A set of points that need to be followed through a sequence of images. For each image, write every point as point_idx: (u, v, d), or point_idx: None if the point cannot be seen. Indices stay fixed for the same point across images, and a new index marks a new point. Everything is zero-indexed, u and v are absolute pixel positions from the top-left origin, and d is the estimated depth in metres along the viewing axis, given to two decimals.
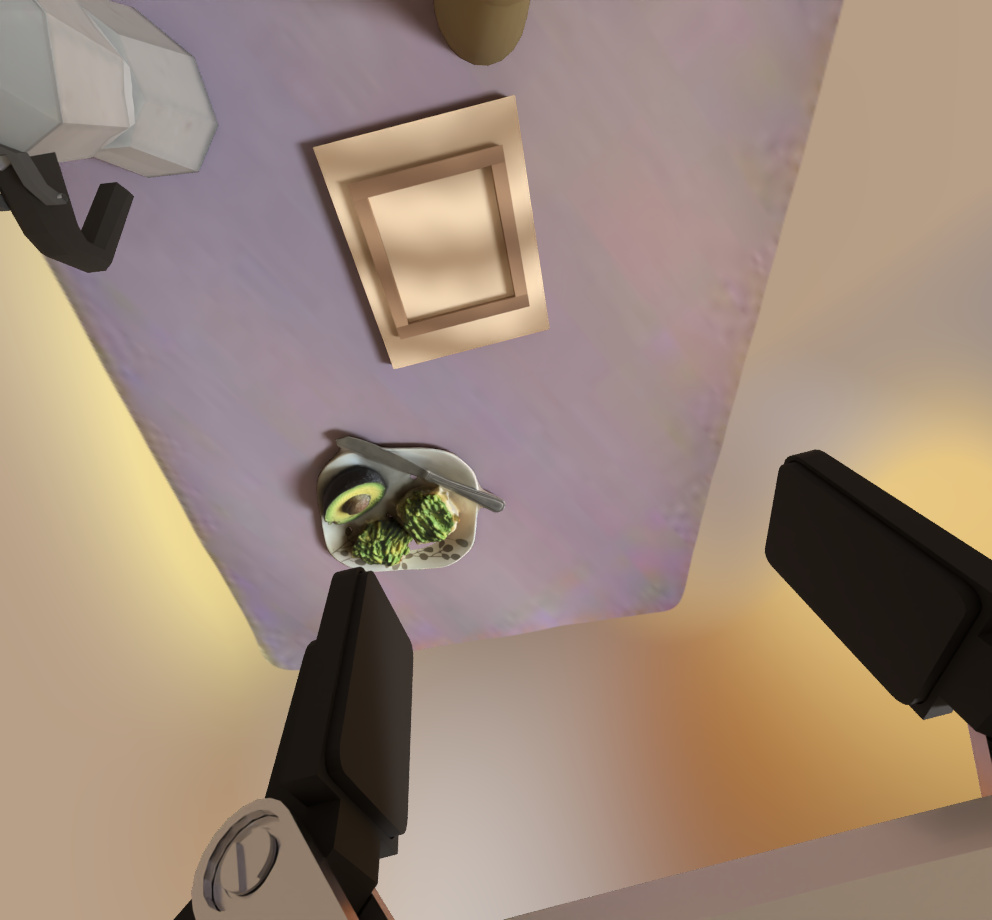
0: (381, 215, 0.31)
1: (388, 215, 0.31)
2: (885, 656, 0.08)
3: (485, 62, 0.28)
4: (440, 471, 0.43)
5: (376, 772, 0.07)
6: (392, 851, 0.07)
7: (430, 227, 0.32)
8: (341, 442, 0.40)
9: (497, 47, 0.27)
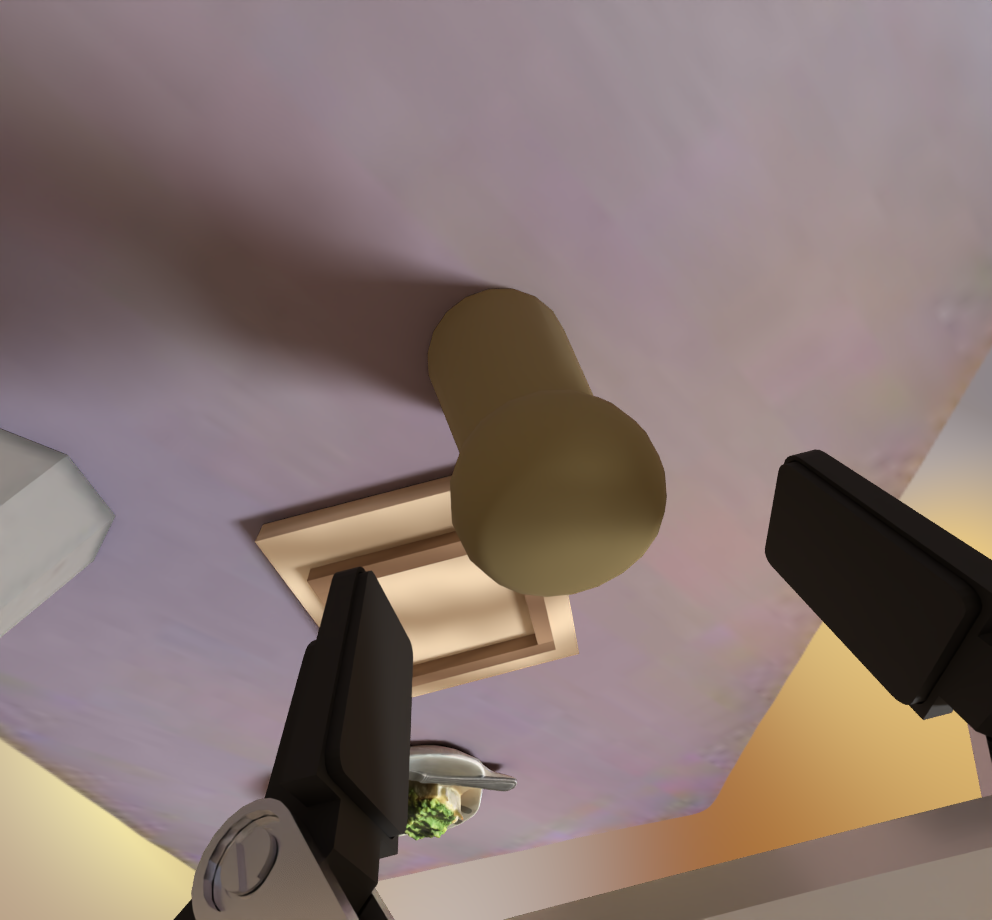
0: None
1: None
2: (886, 657, 0.08)
3: None
4: (438, 770, 0.35)
5: (376, 772, 0.07)
6: (392, 851, 0.07)
7: (424, 592, 0.24)
8: None
9: None
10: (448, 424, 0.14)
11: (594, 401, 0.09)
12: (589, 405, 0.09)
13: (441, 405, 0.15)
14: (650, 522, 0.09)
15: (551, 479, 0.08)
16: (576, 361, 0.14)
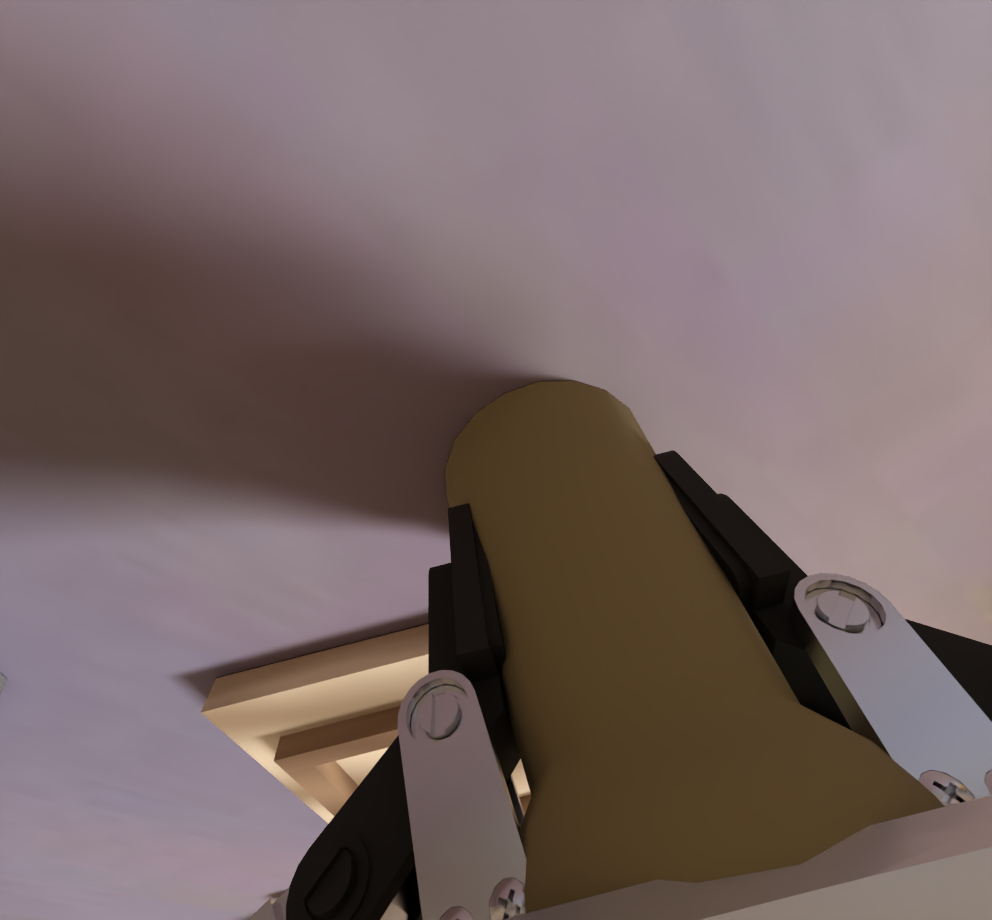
0: None
1: None
2: None
3: None
4: None
5: None
6: None
7: None
8: None
9: None
10: None
11: (888, 815, 0.04)
12: None
13: None
14: None
15: None
16: None
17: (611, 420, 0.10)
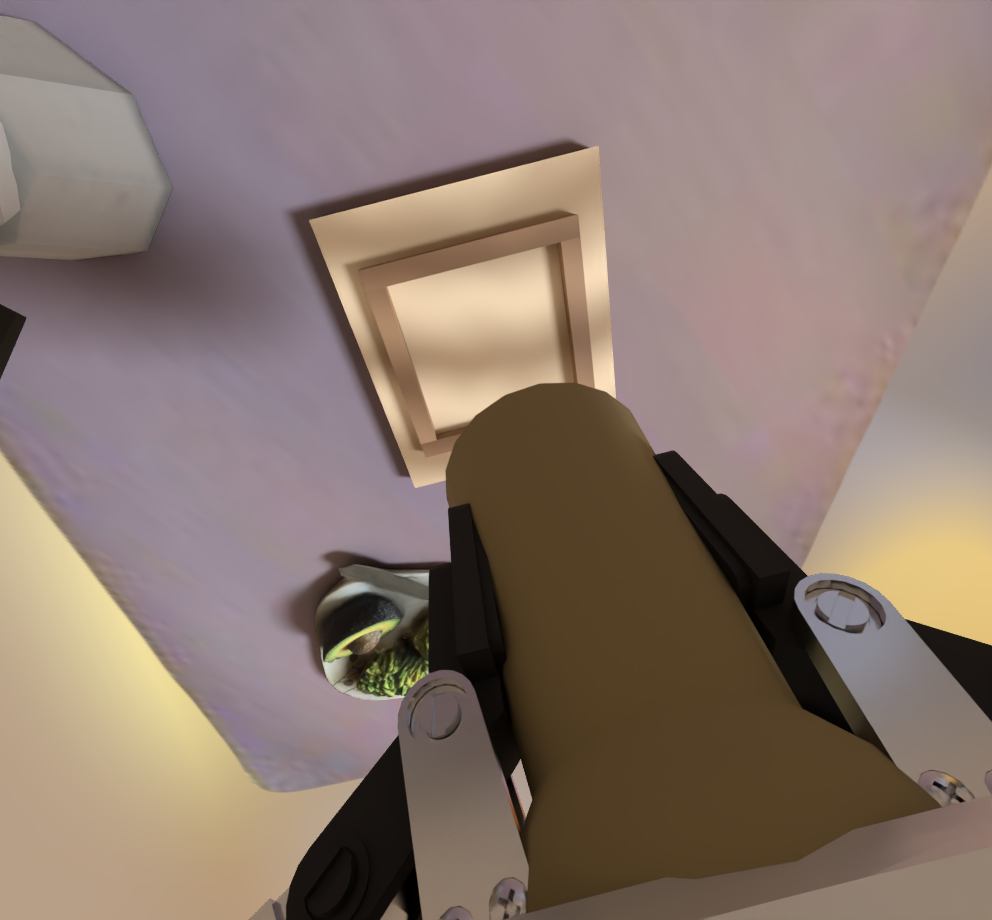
0: (404, 306, 0.23)
1: (413, 306, 0.23)
2: None
3: None
4: None
5: None
6: None
7: (470, 319, 0.23)
8: (346, 571, 0.31)
9: None
10: None
11: None
12: None
13: None
14: None
15: None
16: None
17: (612, 422, 0.10)
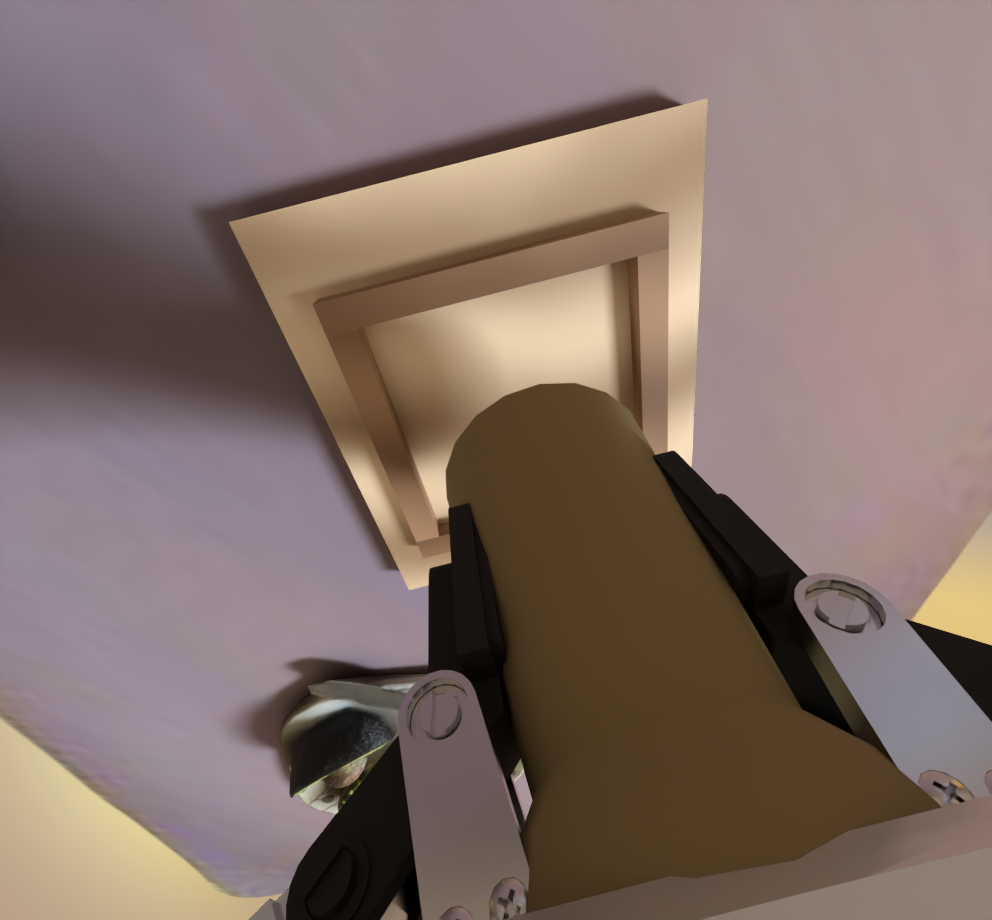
0: (389, 354, 0.15)
1: (403, 354, 0.15)
2: None
3: None
4: None
5: None
6: None
7: (489, 371, 0.16)
8: (318, 689, 0.23)
9: None
10: None
11: None
12: None
13: None
14: None
15: None
16: None
17: (612, 422, 0.10)
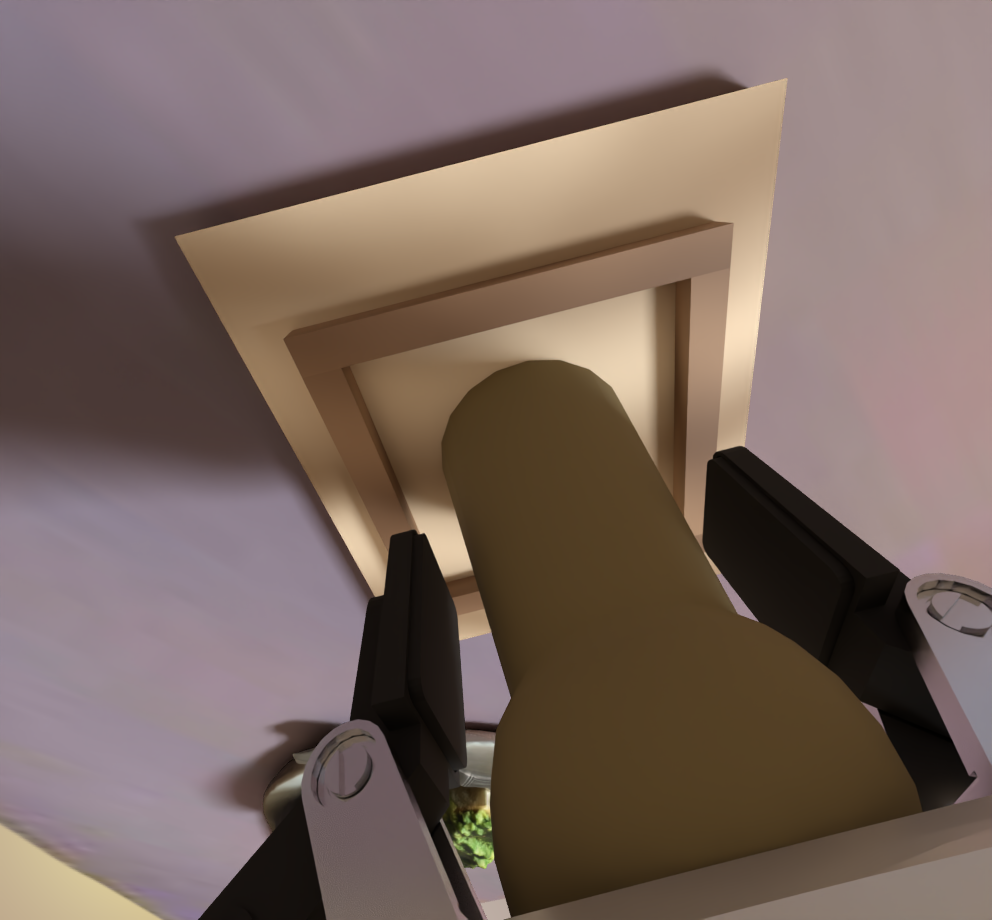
0: (381, 395, 0.12)
1: (399, 395, 0.12)
2: (791, 635, 0.08)
3: None
4: (488, 768, 0.24)
5: (444, 708, 0.08)
6: (456, 783, 0.08)
7: None
8: (304, 757, 0.21)
9: None
10: (474, 573, 0.10)
11: (787, 673, 0.05)
12: (793, 704, 0.04)
13: (462, 532, 0.11)
14: None
15: None
16: None
17: (593, 394, 0.11)
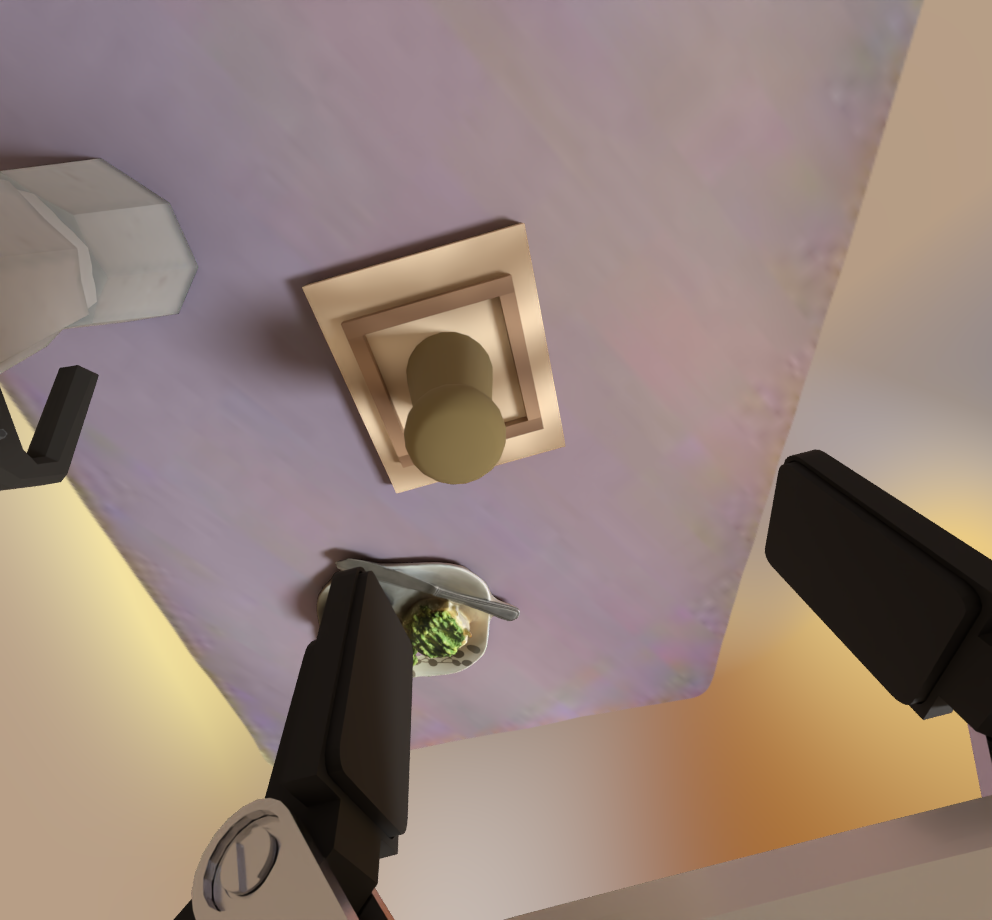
0: (379, 348, 0.28)
1: (386, 348, 0.28)
2: (885, 657, 0.08)
3: None
4: (449, 585, 0.40)
5: (376, 772, 0.07)
6: (392, 851, 0.07)
7: None
8: (342, 564, 0.37)
9: None
10: None
11: (466, 388, 0.21)
12: (461, 389, 0.21)
13: (411, 399, 0.27)
14: (492, 441, 0.21)
15: (441, 419, 0.20)
16: (483, 372, 0.26)
17: (463, 343, 0.27)
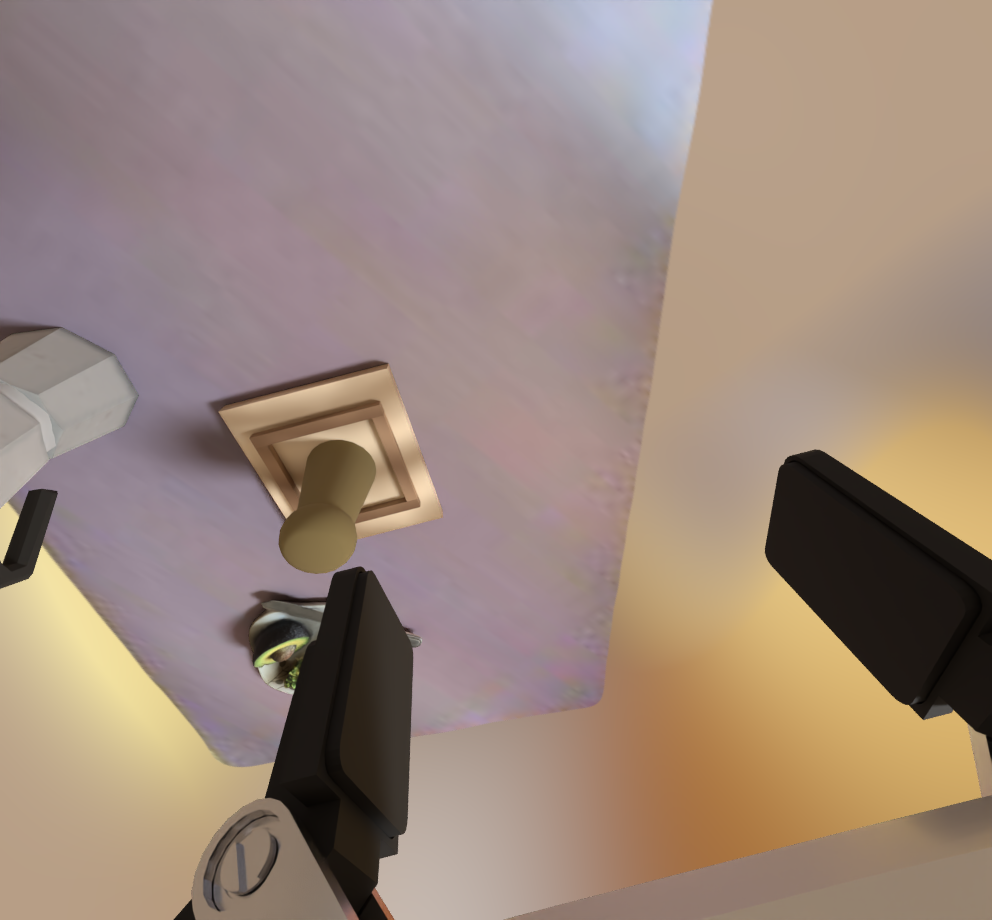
0: (282, 451, 0.37)
1: (288, 451, 0.37)
2: (886, 657, 0.08)
3: None
4: None
5: (376, 772, 0.07)
6: (392, 851, 0.07)
7: None
8: (266, 605, 0.46)
9: None
10: None
11: (322, 509, 0.30)
12: (317, 512, 0.29)
13: None
14: (339, 548, 0.30)
15: (299, 535, 0.29)
16: (355, 479, 0.35)
17: (344, 452, 0.36)
